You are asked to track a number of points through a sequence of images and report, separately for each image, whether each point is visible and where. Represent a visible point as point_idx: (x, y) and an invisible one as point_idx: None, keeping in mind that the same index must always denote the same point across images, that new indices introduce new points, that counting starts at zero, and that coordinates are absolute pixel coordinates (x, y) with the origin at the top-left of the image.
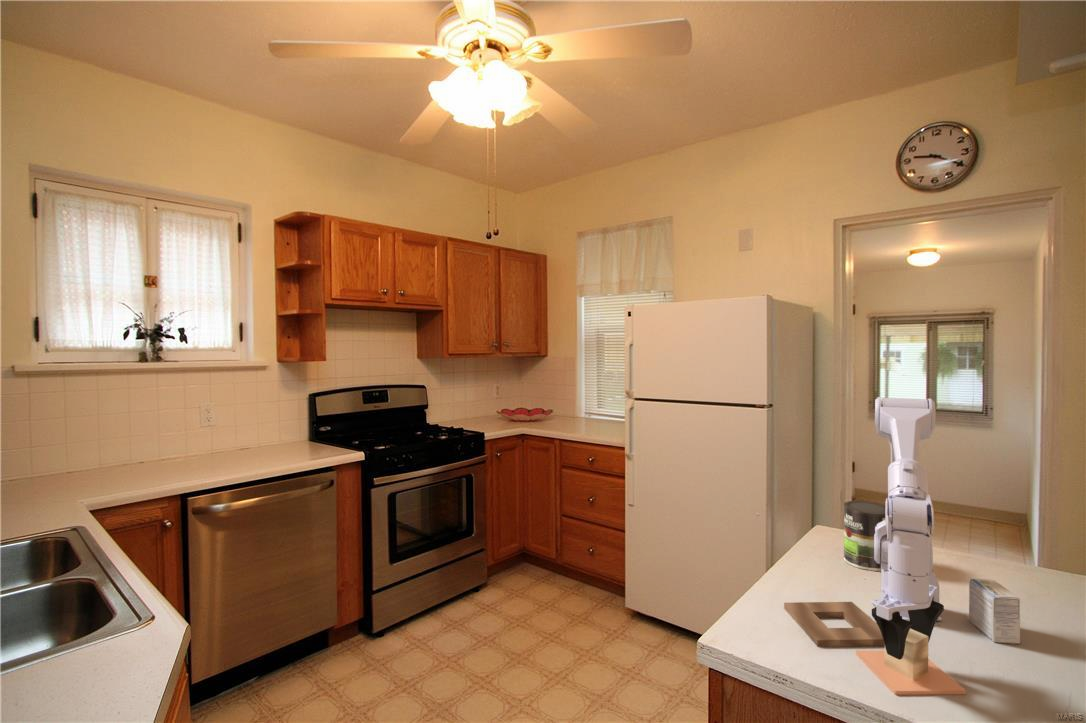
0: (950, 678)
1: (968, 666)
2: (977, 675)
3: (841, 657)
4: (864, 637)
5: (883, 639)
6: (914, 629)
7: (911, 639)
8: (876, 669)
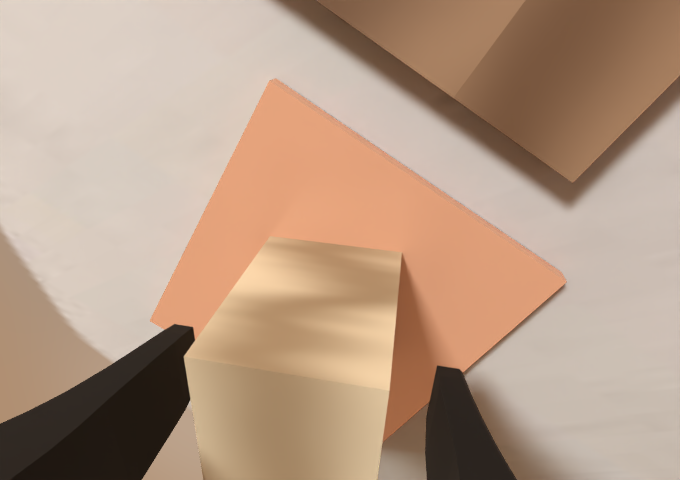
0: (410, 412)
1: (602, 419)
2: (547, 445)
3: (179, 47)
4: (433, 49)
5: (107, 368)
6: (440, 435)
7: (244, 470)
8: (210, 226)
